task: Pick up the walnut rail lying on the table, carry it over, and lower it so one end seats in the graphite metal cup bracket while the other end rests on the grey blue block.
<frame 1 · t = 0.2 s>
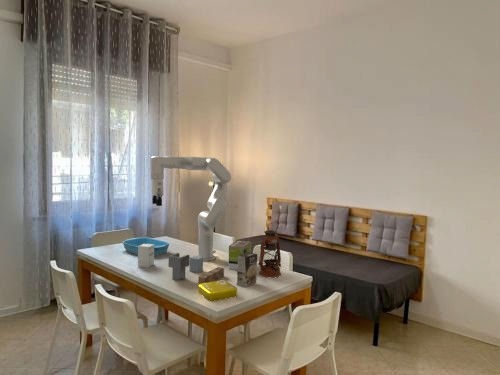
hand: (157, 204, 224), 37 cm above the table, tool pointing down, fingers open, 9 cm apart
cup bracket: (178, 278, 202), on the table
grey blue block: (196, 270, 217), on the table
rail: (211, 281, 200), on the table
supplement box: (146, 265, 225), on the table
element tile: (217, 295, 181), on the table
lantern: (270, 274, 214), on the table
tea box: (239, 267, 227), on the table
coffee box: (246, 284, 196), on the table
casserole dish: (145, 252, 257), on the table
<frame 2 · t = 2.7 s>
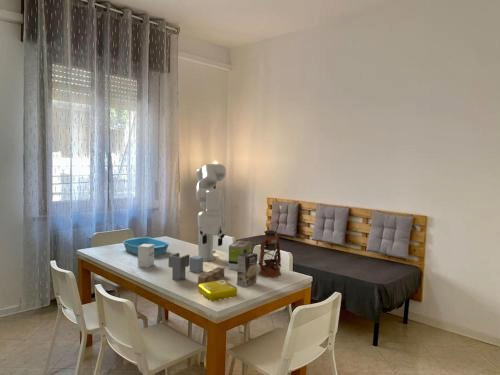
hand: (212, 244, 198), 20 cm above the table, tool pointing down, fingers open, 9 cm apart
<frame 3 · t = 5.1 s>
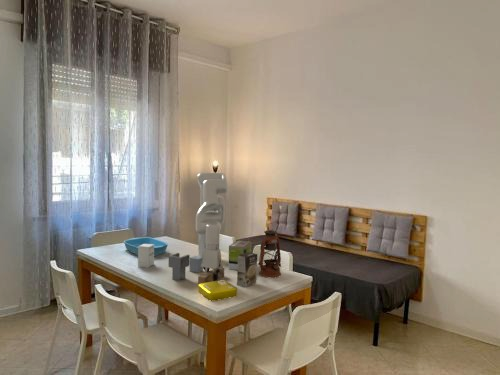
hand: (211, 279, 200), 1 cm above the table, tool pointing down, fingers closed on rail, 4 cm apart
rail: (211, 280, 200), on the table, touching gripper
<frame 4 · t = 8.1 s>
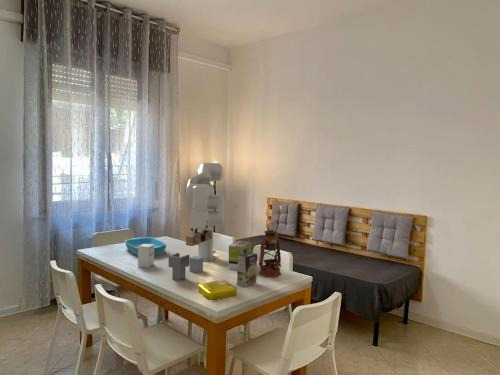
hand: (199, 240, 204), 21 cm above the table, tool pointing down, fingers closed on rail, 4 cm apart
rail: (199, 241, 204), point 20 cm above the table, touching gripper
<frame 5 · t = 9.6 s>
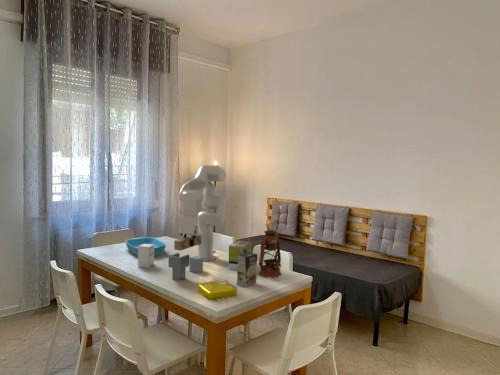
hand: (188, 245, 208), 17 cm above the table, tool pointing down, fingers closed on rail, 4 cm apart
rail: (188, 246, 208), point 16 cm above the table, touching gripper
when the fingers open (10 cm above the table, at t = 11.1 s): rail drops 1 cm, resting on cup bracket, grey blue block.
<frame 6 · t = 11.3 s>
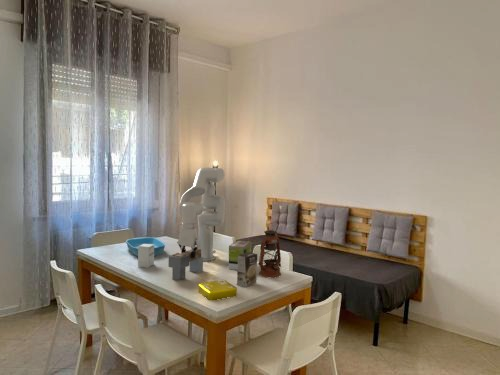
hand: (188, 256, 209), 10 cm above the table, tool pointing down, fingers open, 6 cm apart
rail: (188, 260, 209), point 8 cm above the table, touching cup bracket, grey blue block
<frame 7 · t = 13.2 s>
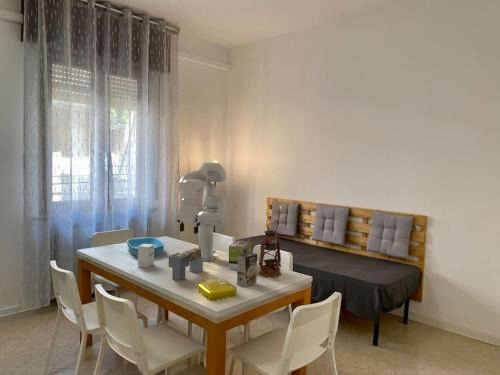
hand: (189, 232, 208), 24 cm above the table, tool pointing down, fingers open, 9 cm apart
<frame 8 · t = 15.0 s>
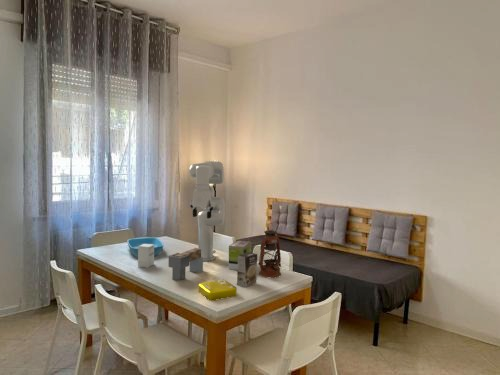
hand: (201, 217, 211), 32 cm above the table, tool pointing down, fingers open, 9 cm apart
at the end: rail 0.1 cm from the target spot, point 8.0 cm above the table; rail touching cup bracket, grey blue block; rail tilted 0° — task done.
